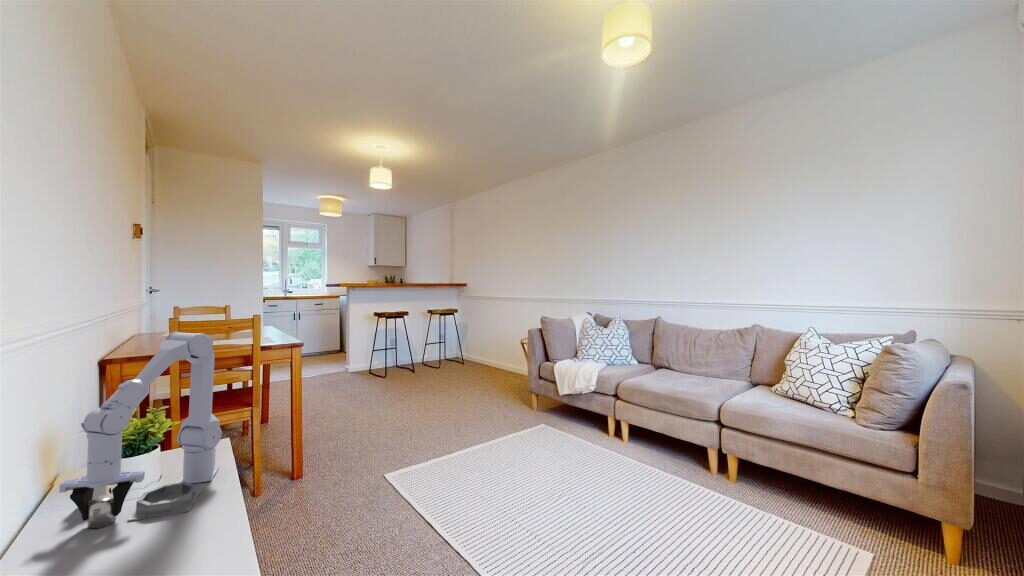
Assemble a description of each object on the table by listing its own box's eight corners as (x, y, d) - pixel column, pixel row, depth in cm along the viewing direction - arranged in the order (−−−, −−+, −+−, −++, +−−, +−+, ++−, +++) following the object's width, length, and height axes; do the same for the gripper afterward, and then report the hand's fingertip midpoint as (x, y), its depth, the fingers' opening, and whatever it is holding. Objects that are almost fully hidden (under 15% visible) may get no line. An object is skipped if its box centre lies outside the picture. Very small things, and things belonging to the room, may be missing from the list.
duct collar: (147, 497, 108) (147, 486, 108) (202, 490, 113) (202, 479, 113) (127, 521, 97) (127, 509, 97) (189, 511, 102) (189, 500, 102)
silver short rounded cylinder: (93, 518, 97) (94, 496, 97) (119, 514, 99) (120, 492, 99) (80, 532, 92) (81, 508, 92) (108, 527, 94) (109, 503, 94)
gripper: (52, 470, 90) (49, 532, 89) (136, 461, 96) (134, 518, 96) (70, 458, 96) (68, 515, 96) (148, 450, 102) (146, 503, 102)
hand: (102, 516), depth 96 cm, fingers closed on silver short rounded cylinder, 5 cm apart
